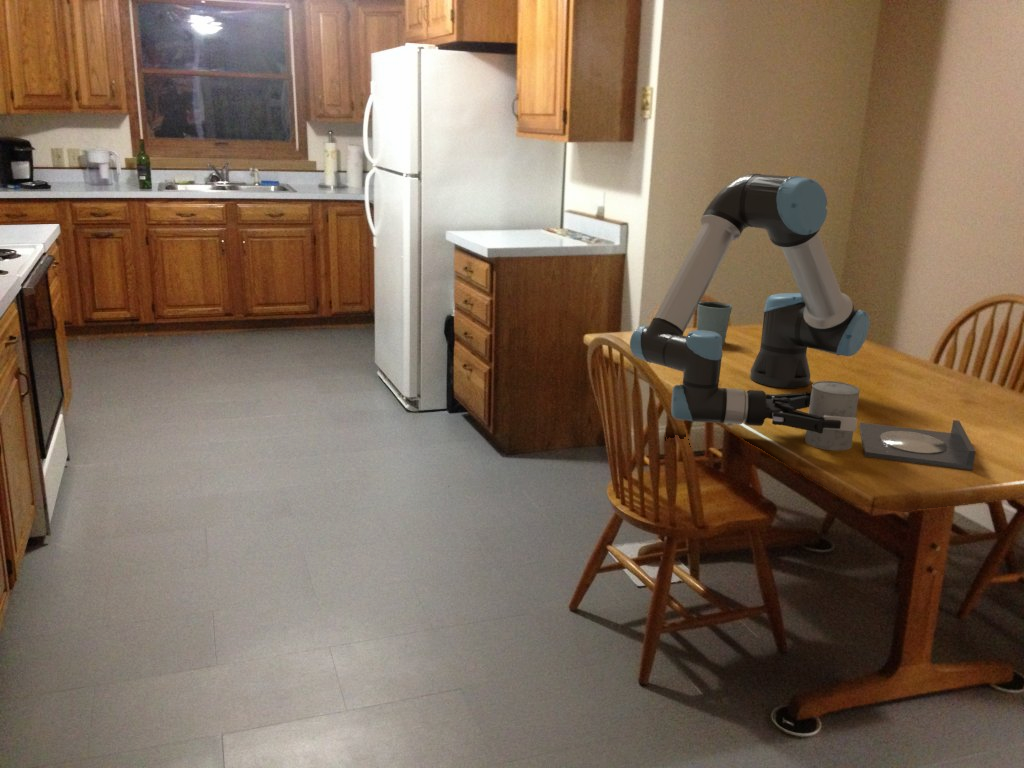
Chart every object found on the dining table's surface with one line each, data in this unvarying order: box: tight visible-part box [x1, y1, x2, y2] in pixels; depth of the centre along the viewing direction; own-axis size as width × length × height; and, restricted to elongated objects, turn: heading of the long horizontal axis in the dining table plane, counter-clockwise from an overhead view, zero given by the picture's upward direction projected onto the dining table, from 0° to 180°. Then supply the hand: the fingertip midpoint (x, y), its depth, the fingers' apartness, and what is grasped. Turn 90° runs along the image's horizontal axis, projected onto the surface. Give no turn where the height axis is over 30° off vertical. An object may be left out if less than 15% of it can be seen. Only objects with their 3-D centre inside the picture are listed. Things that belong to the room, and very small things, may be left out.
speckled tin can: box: [804, 380, 861, 452], centre depth 188 cm, size 10×10×12 cm
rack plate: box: [858, 419, 976, 471], centre depth 188 cm, size 20×20×4 cm
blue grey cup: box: [696, 300, 733, 346], centre depth 271 cm, size 10×10×12 cm
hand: (848, 414), depth 187 cm, fingers open, 12 cm apart
